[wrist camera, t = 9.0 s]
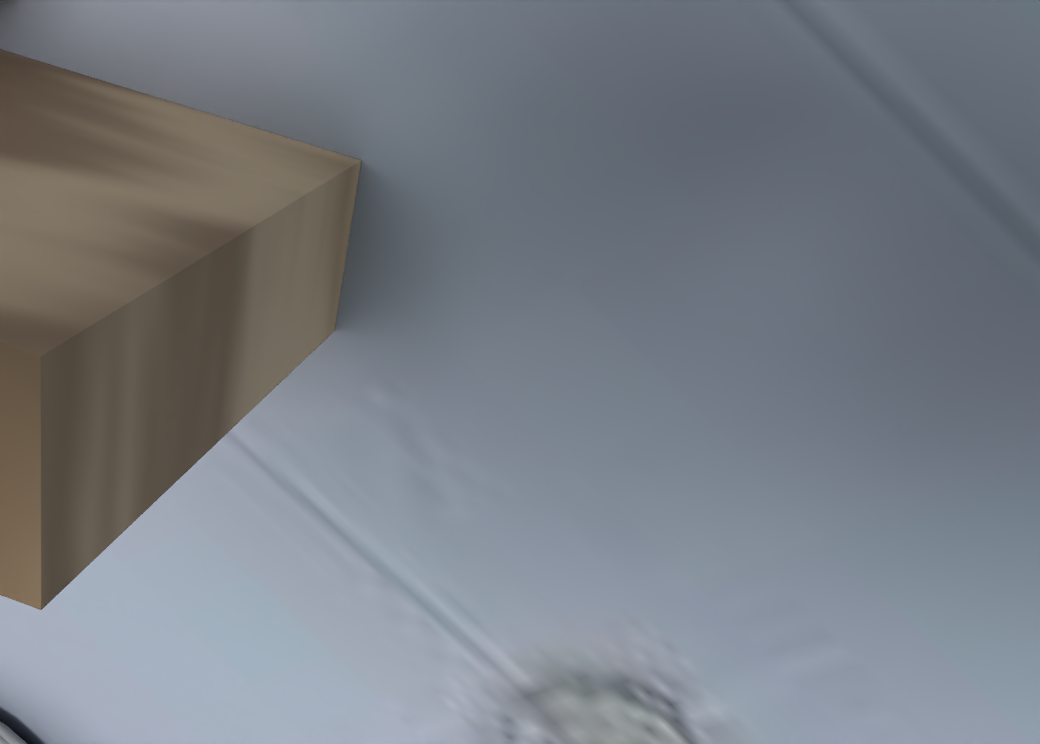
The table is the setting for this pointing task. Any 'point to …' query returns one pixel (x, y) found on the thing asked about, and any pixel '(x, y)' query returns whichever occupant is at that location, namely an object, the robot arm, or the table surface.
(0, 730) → the chalice
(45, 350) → the tan wooden block
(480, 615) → the table surface
